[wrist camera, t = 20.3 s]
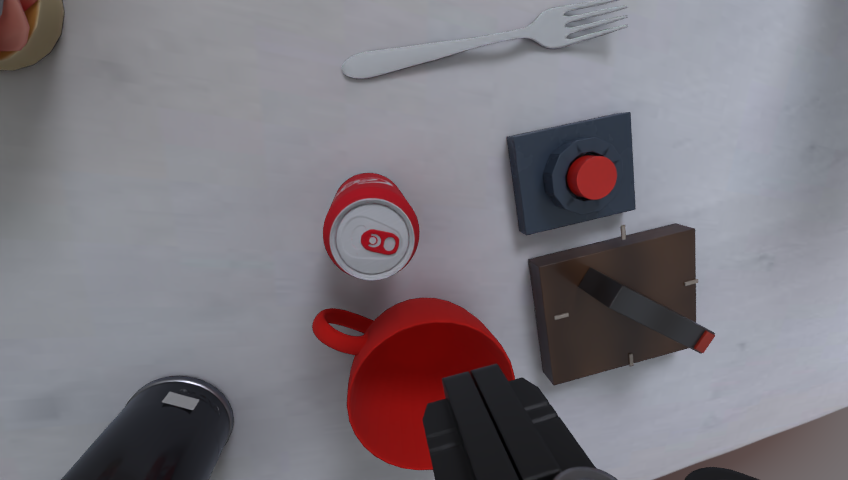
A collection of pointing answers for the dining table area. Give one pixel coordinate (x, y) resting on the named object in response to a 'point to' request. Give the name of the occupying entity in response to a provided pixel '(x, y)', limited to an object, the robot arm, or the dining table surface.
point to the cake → (28, 31)
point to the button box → (548, 166)
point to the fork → (484, 41)
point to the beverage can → (370, 228)
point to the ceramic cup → (406, 370)
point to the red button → (592, 177)
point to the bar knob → (646, 311)
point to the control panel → (596, 323)
